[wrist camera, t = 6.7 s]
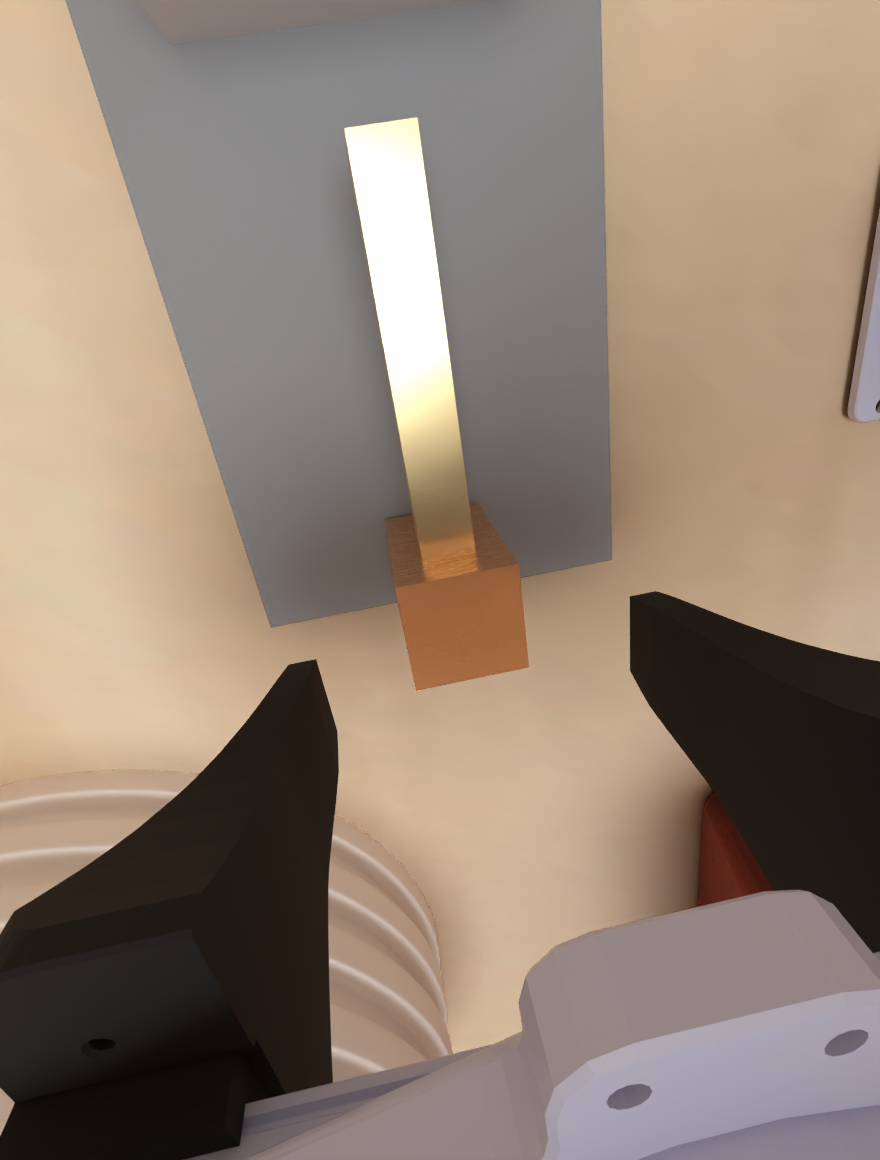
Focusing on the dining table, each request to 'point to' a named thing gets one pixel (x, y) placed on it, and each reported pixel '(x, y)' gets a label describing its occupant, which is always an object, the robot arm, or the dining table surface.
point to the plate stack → (355, 909)
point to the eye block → (339, 271)
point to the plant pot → (725, 859)
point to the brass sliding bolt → (429, 432)
